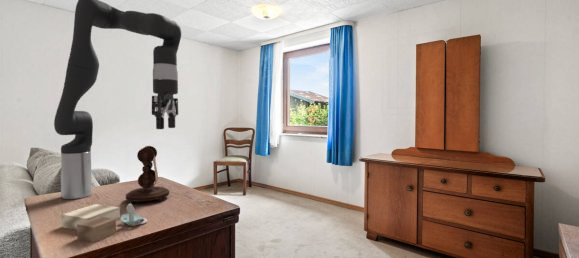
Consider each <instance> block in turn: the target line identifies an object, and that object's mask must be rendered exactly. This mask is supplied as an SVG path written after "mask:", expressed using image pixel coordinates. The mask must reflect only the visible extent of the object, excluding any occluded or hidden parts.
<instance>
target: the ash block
mask: <svg viewBox="0 0 579 258" xmlns="http://www.w3.org/2000/svg"><path fill="white" fill-rule="evenodd" d="M120 212H121V209H120V206H111V205H104V204H100V203H99V204H98V203H95V204H94V203H93V204H91V205H88V206H85V207H81V208H79V209H75V210H72V211H69V212H65V213H62V214H61V227H62V228H65V229H71V230H76V231H77V224H79V223H82V222H85V221H88V220H91V219H94V218H96V217H99V216H100V217H106V218H112V219H116V221H119V220H121V213H120Z"/></svg>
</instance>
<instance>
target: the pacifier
mask: <svg viewBox="0 0 579 258" xmlns="http://www.w3.org/2000/svg"><path fill="white" fill-rule="evenodd" d="M126 212H127V213H124V214H122V215H121V216H120V220H121V223H124V224H126V225H128V226H133V227H135V226H138V225H145V224H146V223H147V222H148V219H147V218H146V217H143V216H140V215H137V214H136V209H135V207H134V205H133V203H132V204H130V203H128V204H127V205H126Z"/></svg>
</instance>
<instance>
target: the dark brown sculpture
mask: <svg viewBox="0 0 579 258" xmlns="http://www.w3.org/2000/svg"><path fill="white" fill-rule="evenodd" d="M136 154H137V156H136V157H137V160H138V161H139V162H141V164H142V173H140V175H139V176H138V178H137V183H138V185H139V186H140V187H139V188H138V187H137V188H134V189H132V190H130V191H128V192H127V193H126V194H125V200H127V201H129V204H132V205H133V203H134V202H148V201H154V200H158V202H159V203H161V202H162V199H163V198H165V197H168V196H169V195H170V190H169V188H166V187H164V186H155V185H156V184H157V182H158V180H159V179H158V178H159V174H158V173H159V172H158V167H157V161H156V157H157V155H158V150H157V149H156V148H155V147H154V146H153V145H146V146H144V147H143V148H140V149H139V150H138V152H137V153H136ZM152 168H154V170H153V169H152Z"/></svg>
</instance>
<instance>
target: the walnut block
mask: <svg viewBox="0 0 579 258" xmlns="http://www.w3.org/2000/svg"><path fill="white" fill-rule="evenodd" d="M116 233H117V220H116V219H112V218H106V217H100V216H99V217H96V218H94V219H91V220H88V221H85V222H82V223H79V224H77V230H76V234H77V235H76V236H77V240H81V241H87V242H91V243H96V242H98V241H101V240H103V239H106V238H107V237H108V238H109V237H110V236H112V235H115V234H116Z"/></svg>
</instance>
